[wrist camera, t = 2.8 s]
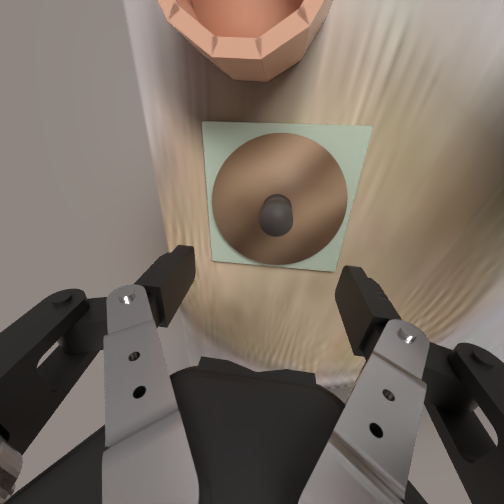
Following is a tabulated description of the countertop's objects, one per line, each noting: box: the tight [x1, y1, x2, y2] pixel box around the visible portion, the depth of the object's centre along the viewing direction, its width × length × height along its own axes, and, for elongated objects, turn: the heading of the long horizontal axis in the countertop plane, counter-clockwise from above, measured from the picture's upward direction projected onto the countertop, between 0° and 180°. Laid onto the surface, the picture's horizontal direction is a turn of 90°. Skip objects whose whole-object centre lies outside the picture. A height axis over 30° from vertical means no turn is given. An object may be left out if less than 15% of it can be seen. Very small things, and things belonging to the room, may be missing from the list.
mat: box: [202, 121, 373, 272], centre depth 23 cm, size 15×15×1 cm
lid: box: [212, 133, 348, 265], centre depth 21 cm, size 14×14×4 cm
